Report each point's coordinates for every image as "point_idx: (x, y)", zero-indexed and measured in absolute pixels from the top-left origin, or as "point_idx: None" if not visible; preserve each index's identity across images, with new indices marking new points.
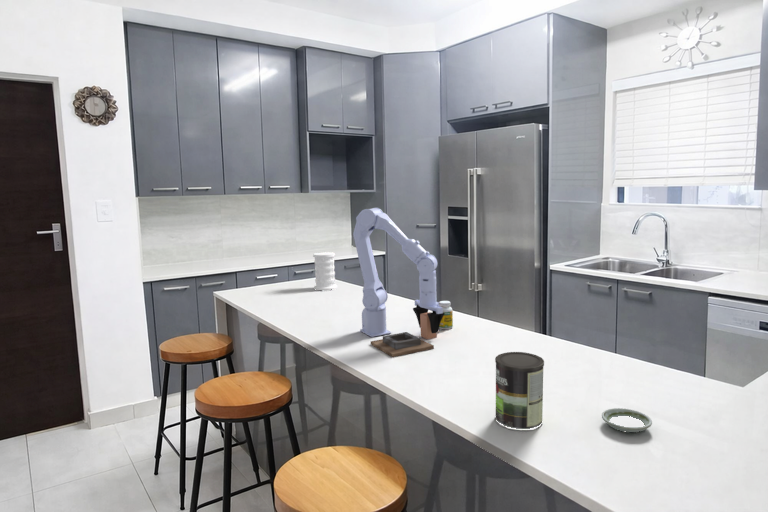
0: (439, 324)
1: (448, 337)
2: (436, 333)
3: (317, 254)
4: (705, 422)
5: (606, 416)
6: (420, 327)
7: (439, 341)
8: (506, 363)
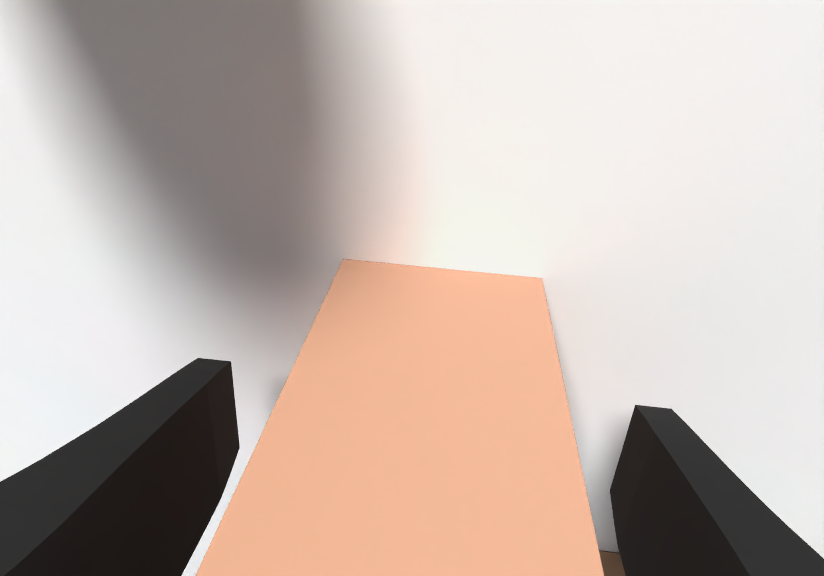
0: (789, 536)
1: (702, 122)
2: (548, 320)
3: None
4: None
5: None
6: (235, 458)
7: (731, 373)
8: None
